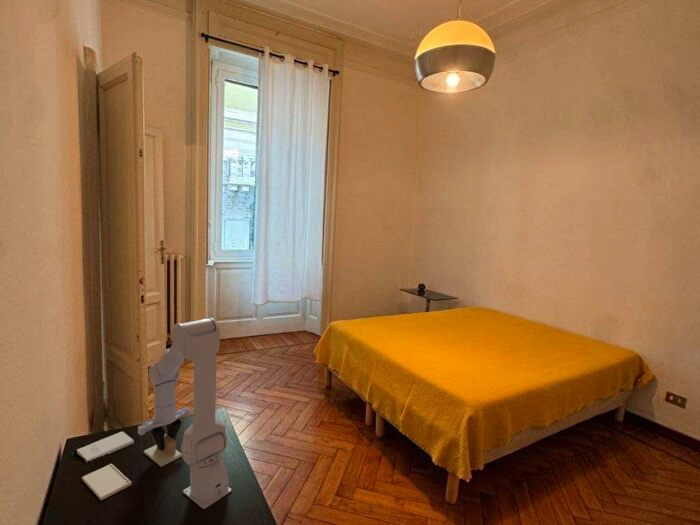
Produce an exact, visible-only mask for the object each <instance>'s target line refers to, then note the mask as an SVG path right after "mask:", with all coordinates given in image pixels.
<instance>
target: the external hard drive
mask: <svg viewBox="0 0 700 525" xmlns="http://www.w3.org/2000/svg"><path fill="white" fill-rule="evenodd" d="M134 442H135V440H134V439H133V438H132V437H130V436H129V435H128V434H126V432H125V431H120V432H118V433H114V434H112V435H110V436H107V437H105V438H101V439H99V440H97V441H95V442H92V443H90V444H87V445H85V446H83V447H80V448H77V449H76V451H77V452H76V453H77V455H78V456H80V458H81V457H82V459H83V458H84V459H85V460H86V461H87V462H88V461H91V460H93V459H96V458H98V457H101V456H103V457H105V456H107V455H106V454H108V455H110V454H112V453H114V452H116V451H119V450H121V449H123V448H126V447H128V446H130V445H132V444H134ZM104 455H105V456H104ZM101 458H102V457H101ZM84 459H83V460H84ZM98 459H99V458H98ZM85 460H84V461H85ZM96 460H97V459H96ZM86 461H85V462H86ZM87 462H86V463H87ZM91 462H92V461H91Z"/></svg>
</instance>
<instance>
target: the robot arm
mask: <svg viewBox="0 0 700 525" xmlns="http://www.w3.org/2000/svg"><path fill="white" fill-rule="evenodd" d="M220 339H221V328H220V326H219V325H218V323H217V321H216V319H215V318H213V317H211V316H210V317H206V318H203V319H198V320H192V321H187V322H181V323H179V322H178V323H175V324H174V325H173V327H172V328H171V340H172V343H171V346H170V347H169V348H165V350H164V352H163V353H162V355H161V357H160V359H159V360H158V362H157V363H156V364H152V365H150V366H149V370H148V376H149V381H150V383H151V385H152V389H153V418H151V419H149V420H147V421H146V422H144V423H142V424H141V425H138V426H137V434H138V435H139V436H143V435H146V433H147V432H150V433H151V434H152V436H153V438H154V440H155V443H156V445H157V446H158V449H159V450H160V451H163V450H164V435H165V434H166V430H167V435H168V436H170V437H171V438H173V439H174V440H175V441H176V437H177V434H178V432H179V431H180V428H181V427H182V424H183V423H182V420H180V419H181V418H184V417H188V416H190V415H191V409H190V408H189V407H187V406H186V407H183V408H178V409H177V408H176V407H177V406H176V405H177V402H176V387H177V385H178V380H179V375H180V374H179V373H180V372H179V369H180V368H181V365H183V363H184V361H185V360H187V361H191V362H192V363H193V413H192V414H193V415H192V416H193V420H192V423H190V425H189V426H188V428H187V429H185V431H184V433H183V440H182V443H181V447H180V451H181V452H180V453H181V454H182V456H181V457H182V459H183V461H184V463H186V465H188V466H189V482H190V485H189V486H188V487H186V488H185V489H183V490H182V493H183V494H185V496H186V497H188V498H189V499H190V500H192V501H193V502H194V503H195V504H197V505H198V506H199V507H200V508H201V509H203V510H205V509H207V508H208V507H211V506H212V505H213V504H214V503H216V502H218V501H219V500H221V499H222V498H223V497H225V496H227V495H228V494H229V493H231V492H232V488H230V487H229V469H228V468H227V466H226V465H225V464H224V463H223V460H222V459H221V457H222V456H223V455H224V454H223V453H224V452H223V451H225V450H226V449H227V448H228V439H229V438H228V434H227V432H226V431H227V430H226V425H225V423H224V422H223V421H222V420H220V419H218V418H216V404H217V403H216V400H217V396H216V394H217V354H218V352H220V349H221V348H220V345H221V340H220ZM163 426H166V430H165V429H163Z"/></svg>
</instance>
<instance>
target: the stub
mask: <svg viewBox="0 0 700 525" xmlns="http://www.w3.org/2000/svg"><path fill="white" fill-rule="evenodd" d="M143 454H144V455H146V456H147V457H149V459H151V460H152V461H153V462H154V463H156V464H157V465H159V467H164V466H165V465H167V464H169V463H172V462H174V461H176V460H177V459H180V458H181V457H182V452H180V451H178V449H177V448H176V439H175V440H174V439H173V438H171V437H170V436H168V433H165V435H164V450H163V451H160V450H159V449H158V446H157V444H155V445H153V446H151V447H149V448H147V449H145V450H143Z"/></svg>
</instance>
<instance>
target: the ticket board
mask: <svg viewBox="0 0 700 525" xmlns="http://www.w3.org/2000/svg"><path fill="white" fill-rule="evenodd" d="M81 479H82V481H83V482H84V483H85V485H86V486H87V487H88V488H89V489H90V490H91V491H92V492H93V493H94V494H95V495H96V497H97V498H98V499H99V500H100V501H103V500H104V499H107V498H108V497H110V496H112V495H115V494H117V493H118V492H119V493H120V491H122V490H125V489H126V488H128V487H130V486H132V481H131V480H130V479H129V478H128V477H126V476H125V475H124V474H123V473H122V472H121V471H120V470H119V469H118V468H117V467H116V465H114V464H113V463H109V464H107V465H106V466H104V467H102V468H99V469H97V470H95V471H94V470H93V471H92V472H89V473H87V474H85V475H84V476H82V477H81Z"/></svg>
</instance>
